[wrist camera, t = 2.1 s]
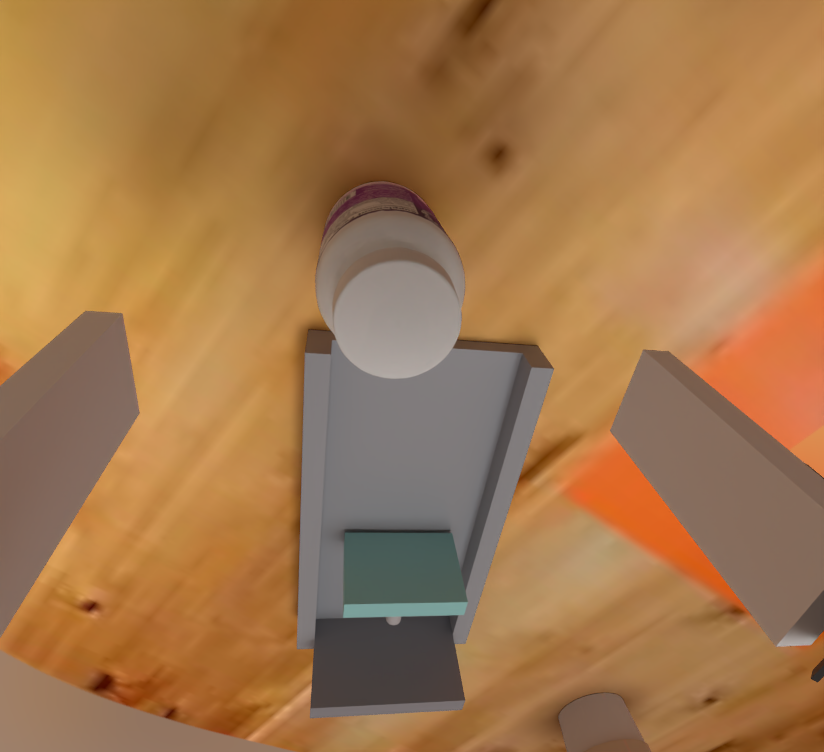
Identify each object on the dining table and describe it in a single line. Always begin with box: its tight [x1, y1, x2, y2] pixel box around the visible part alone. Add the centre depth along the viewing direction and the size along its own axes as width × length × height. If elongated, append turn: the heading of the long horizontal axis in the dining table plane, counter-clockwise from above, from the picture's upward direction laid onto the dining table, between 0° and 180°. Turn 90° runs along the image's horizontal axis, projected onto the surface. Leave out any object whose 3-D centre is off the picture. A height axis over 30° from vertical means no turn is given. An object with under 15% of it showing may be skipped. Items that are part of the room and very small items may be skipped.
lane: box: [297, 330, 554, 718], centre depth 29 cm, size 24×12×7 cm, turn 172°
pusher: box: [343, 533, 468, 625], centre depth 31 cm, size 5×7×5 cm
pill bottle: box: [315, 181, 465, 379], centre depth 19 cm, size 5×5×10 cm
